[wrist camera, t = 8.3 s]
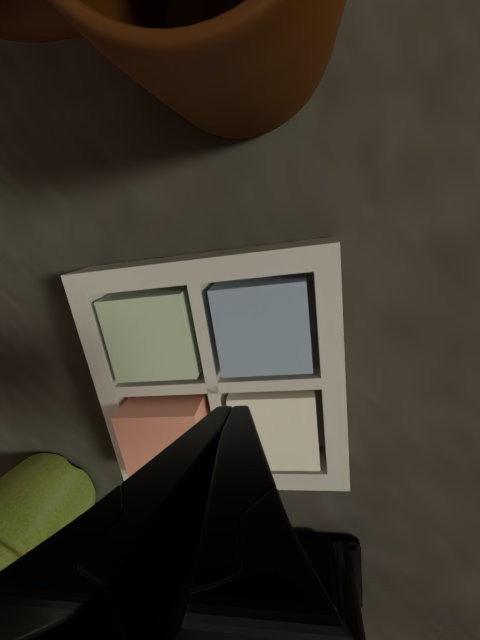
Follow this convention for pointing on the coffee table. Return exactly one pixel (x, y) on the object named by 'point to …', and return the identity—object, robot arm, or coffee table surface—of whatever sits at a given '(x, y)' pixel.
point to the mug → (199, 51)
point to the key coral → (154, 425)
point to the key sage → (150, 334)
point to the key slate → (262, 326)
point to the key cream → (284, 427)
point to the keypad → (200, 276)
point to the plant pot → (39, 502)
